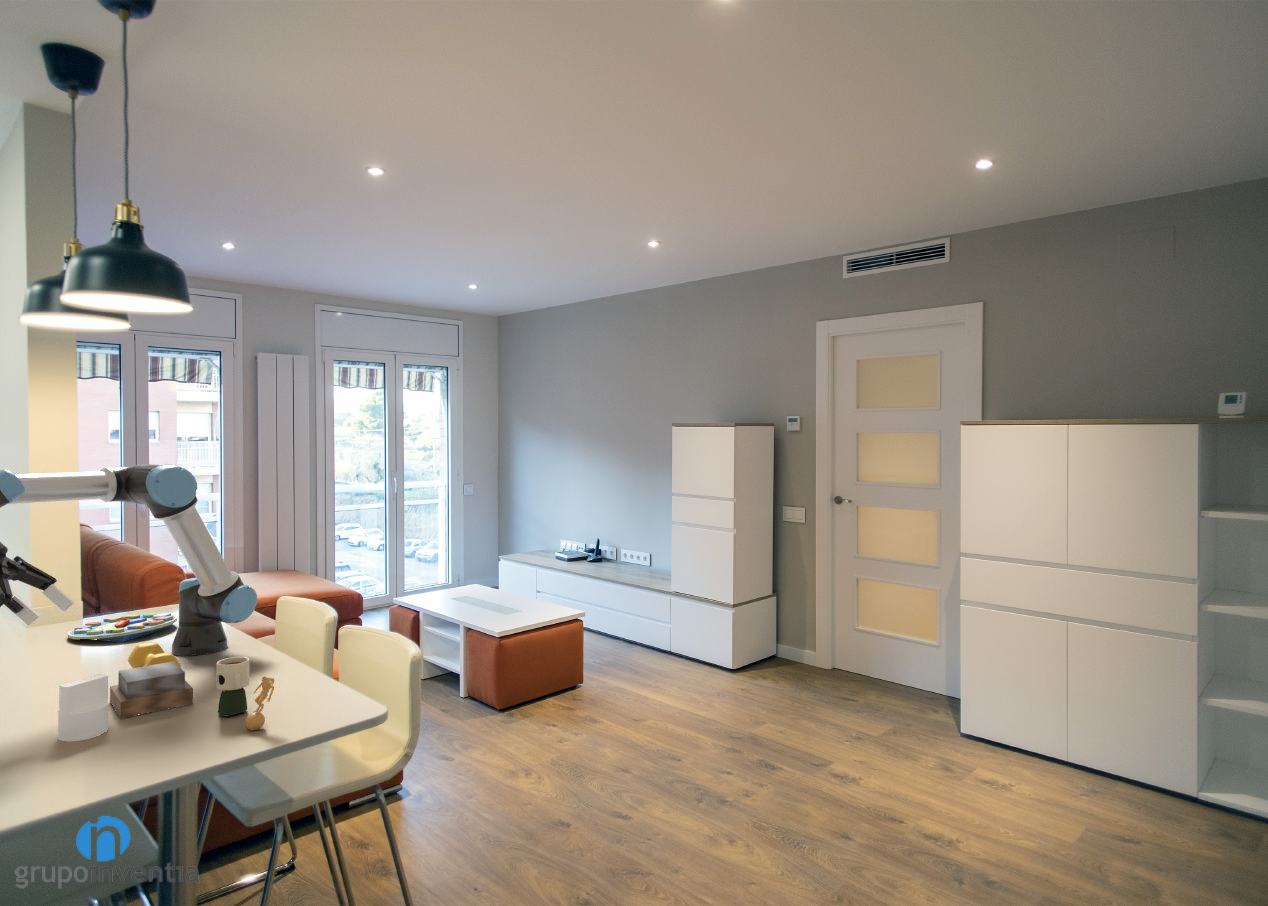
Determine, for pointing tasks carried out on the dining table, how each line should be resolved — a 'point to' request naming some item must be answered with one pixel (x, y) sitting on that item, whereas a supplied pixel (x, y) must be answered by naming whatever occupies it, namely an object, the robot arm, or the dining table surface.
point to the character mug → (232, 684)
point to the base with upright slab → (83, 708)
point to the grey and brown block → (150, 689)
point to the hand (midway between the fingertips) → (52, 613)
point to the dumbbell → (150, 655)
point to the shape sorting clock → (123, 627)
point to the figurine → (260, 704)
